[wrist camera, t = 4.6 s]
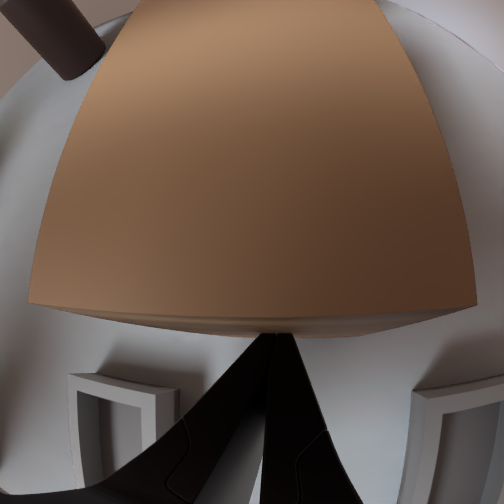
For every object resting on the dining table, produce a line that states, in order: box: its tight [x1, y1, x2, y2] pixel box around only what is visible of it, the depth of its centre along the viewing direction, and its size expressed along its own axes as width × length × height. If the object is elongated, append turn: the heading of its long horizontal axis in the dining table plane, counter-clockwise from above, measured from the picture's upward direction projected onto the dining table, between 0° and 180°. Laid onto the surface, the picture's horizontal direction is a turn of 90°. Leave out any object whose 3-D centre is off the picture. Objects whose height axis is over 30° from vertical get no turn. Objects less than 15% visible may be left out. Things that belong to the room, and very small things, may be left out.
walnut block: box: [28, 0, 477, 338], centre depth 11 cm, size 14×6×12 cm, turn 179°
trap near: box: [397, 374, 504, 504], centre depth 9 cm, size 10×6×2 cm, turn 179°
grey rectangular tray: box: [67, 373, 179, 489], centre depth 13 cm, size 10×6×2 cm, turn 179°
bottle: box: [0, 0, 105, 80], centre depth 19 cm, size 7×7×20 cm
